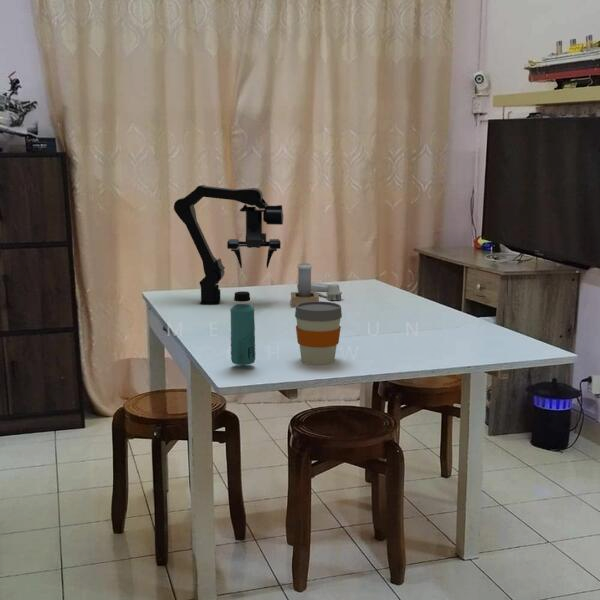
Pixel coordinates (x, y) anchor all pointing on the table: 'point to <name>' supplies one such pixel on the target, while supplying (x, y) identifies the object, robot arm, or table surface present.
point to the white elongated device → (327, 290)
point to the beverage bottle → (242, 331)
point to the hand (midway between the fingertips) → (254, 268)
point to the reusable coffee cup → (318, 331)
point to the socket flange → (302, 298)
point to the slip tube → (304, 279)
